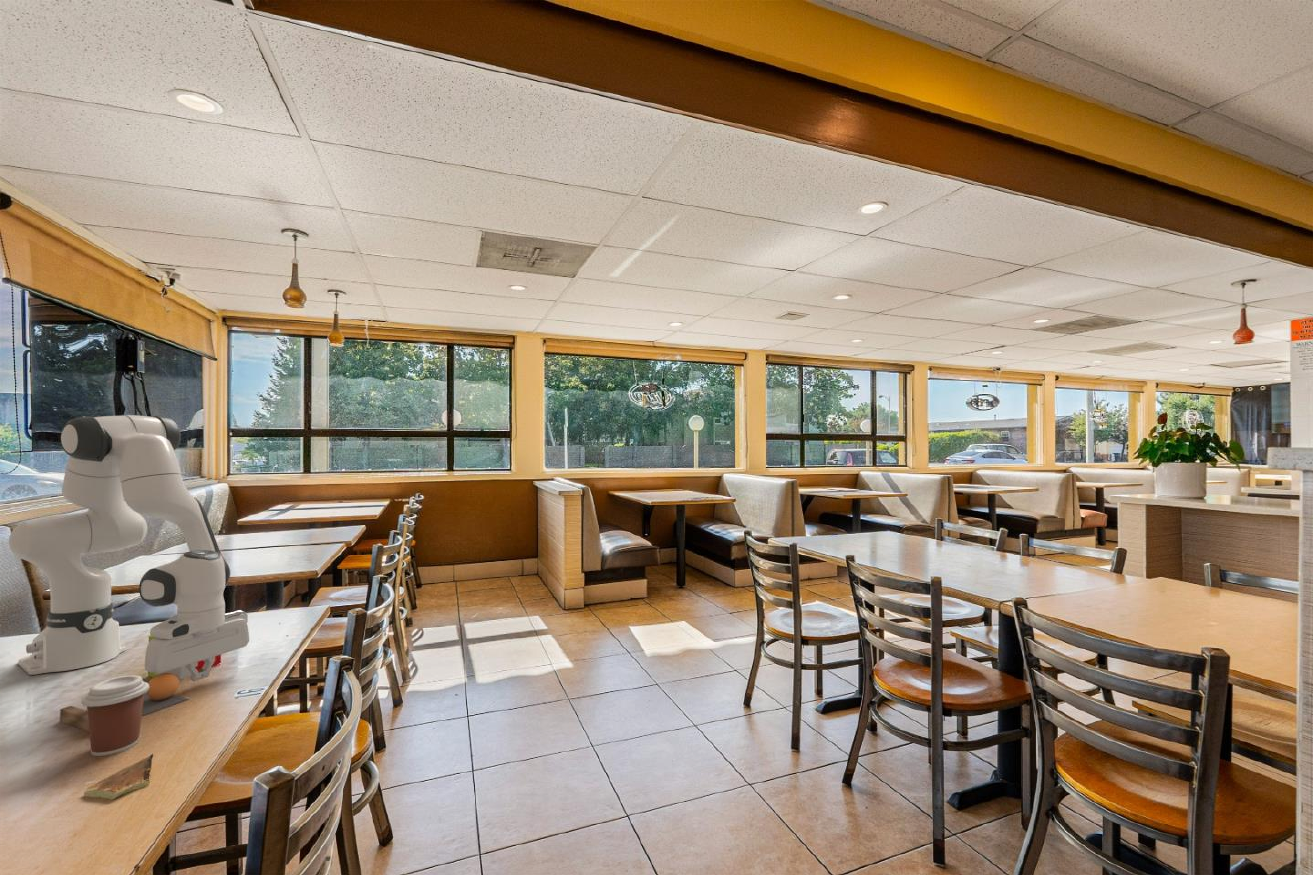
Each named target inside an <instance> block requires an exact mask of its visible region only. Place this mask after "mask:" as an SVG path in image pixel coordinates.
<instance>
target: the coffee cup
mask: <svg viewBox="0 0 1313 875" xmlns="http://www.w3.org/2000/svg"><path fill="white" fill-rule="evenodd" d="M148 683H149V682H146V681H144V680H143V677H142V676H140V675H136V674H135V675H134V674H132V675H130V674H129V675H122V676H115V677H112V678H108V679H105V680H102V681H99V682H98V683H95V684H93V685H92V686H91V687H90V688H89V692H88V693H87V694H85V696H83V697H82V698H81V704H82V706H83V707H86V709H87V710H86V711H87V712H88V723H89V731H88V732H89V741H90V754H91V756H94V757H105V756H110V755H115V754H118V753H122V752H123V751H126V750H129V749H131V748H133V747H134V746H136V745H137V744H138V743H139V741H140V732H141V725H142V717H143V716H142V709H143V701H144V694H146V692H147V691H148V690H149V684H148Z"/></svg>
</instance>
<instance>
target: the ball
mask: <svg viewBox="0 0 1313 875" xmlns="http://www.w3.org/2000/svg"><path fill="white" fill-rule="evenodd" d="M147 683H148V684H149V690H148V691H147V692H146V693H145V694H147V696H148V697H149V698H151V699H153V700H163V699H166V698H169V697H170V696H172V695H175V693H176V692H177V691H178V688H179V687H180V680H179V679H178V677H177V676H176V675H174V674H172V673H162V674H159V675H157V676H155V677H151V679H150V680H149V681H148V682H147Z"/></svg>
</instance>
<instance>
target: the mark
mask: <svg viewBox="0 0 1313 875" xmlns="http://www.w3.org/2000/svg"><path fill="white" fill-rule="evenodd" d="M187 700H189V698H187V697H183V696H179V695H176V694H173V695H172V696H170V697H169V698H166V699H163V700H153V699H151V698H149V697H148V696H147V694H146V693H144V701H143V709H142V717H143V716H146V715H150V714H153V713H154V712H157V711H160V710H164V709H166V708H168V707H171V706H174V705H177V704H179V703H182V702H185V701H187Z"/></svg>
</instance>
